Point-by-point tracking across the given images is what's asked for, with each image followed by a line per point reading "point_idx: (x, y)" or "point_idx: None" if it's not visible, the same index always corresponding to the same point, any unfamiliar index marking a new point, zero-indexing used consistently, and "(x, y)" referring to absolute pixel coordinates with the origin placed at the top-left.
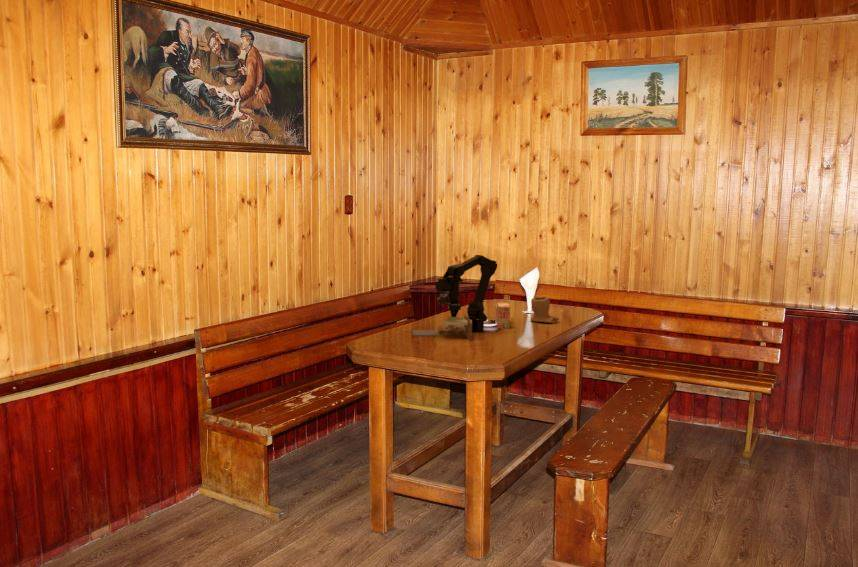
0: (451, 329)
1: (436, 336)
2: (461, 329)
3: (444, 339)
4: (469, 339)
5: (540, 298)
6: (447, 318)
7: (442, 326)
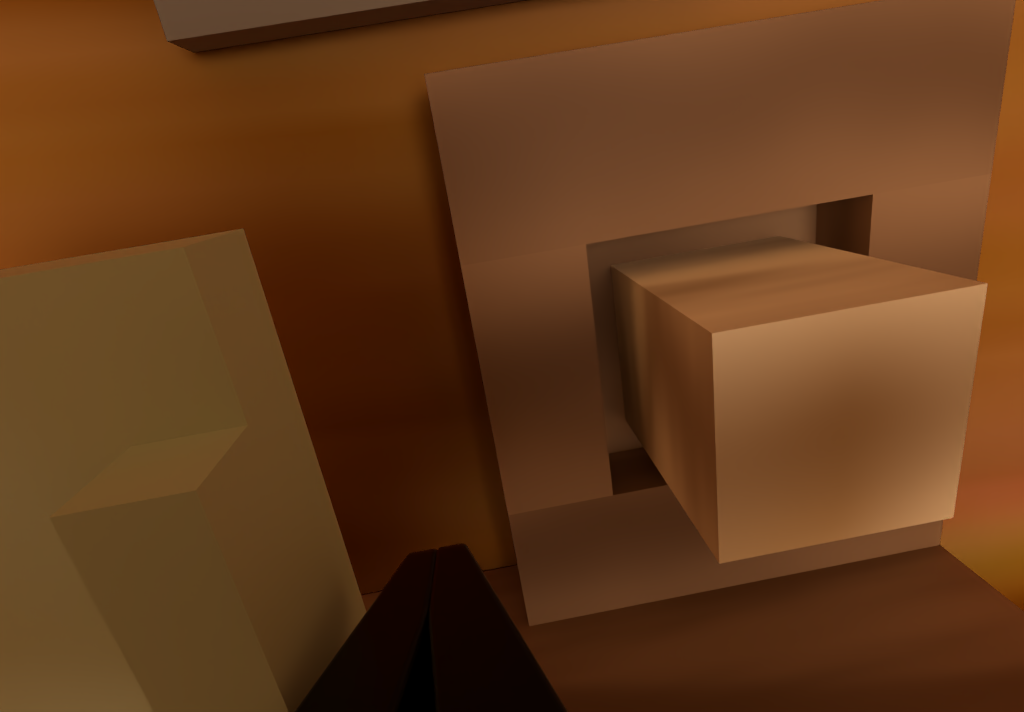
0: (638, 357)
1: (180, 37)
2: (645, 540)
3: (58, 247)
4: None
5: None
6: (117, 472)
7: (953, 115)
